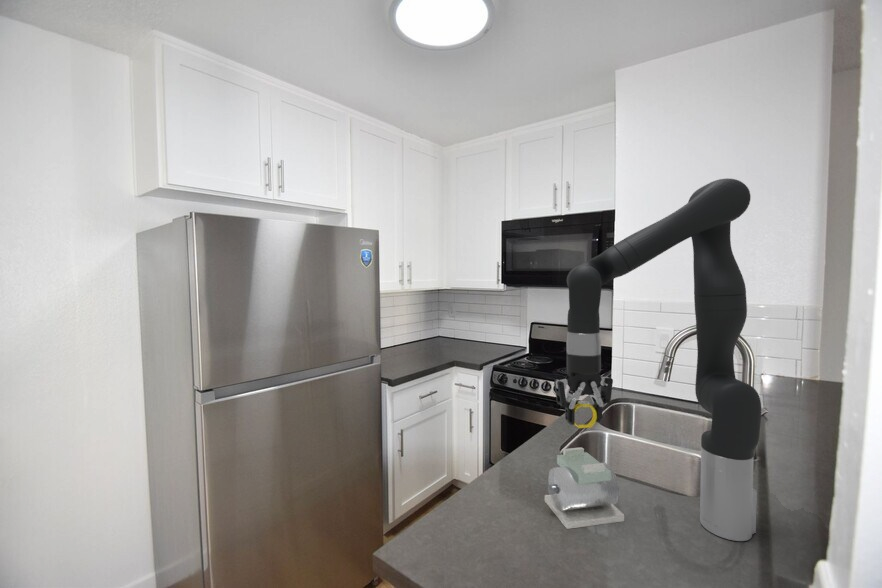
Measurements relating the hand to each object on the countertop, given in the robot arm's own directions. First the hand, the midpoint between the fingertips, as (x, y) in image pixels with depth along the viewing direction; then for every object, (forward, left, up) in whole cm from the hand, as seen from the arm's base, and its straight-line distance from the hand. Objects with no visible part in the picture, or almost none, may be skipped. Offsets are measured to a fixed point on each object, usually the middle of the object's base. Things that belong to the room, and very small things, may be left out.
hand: (583, 422), depth 92 cm
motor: (0, 0, -21) cm, 21 cm away
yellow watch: (0, 0, -1) cm, 1 cm away
